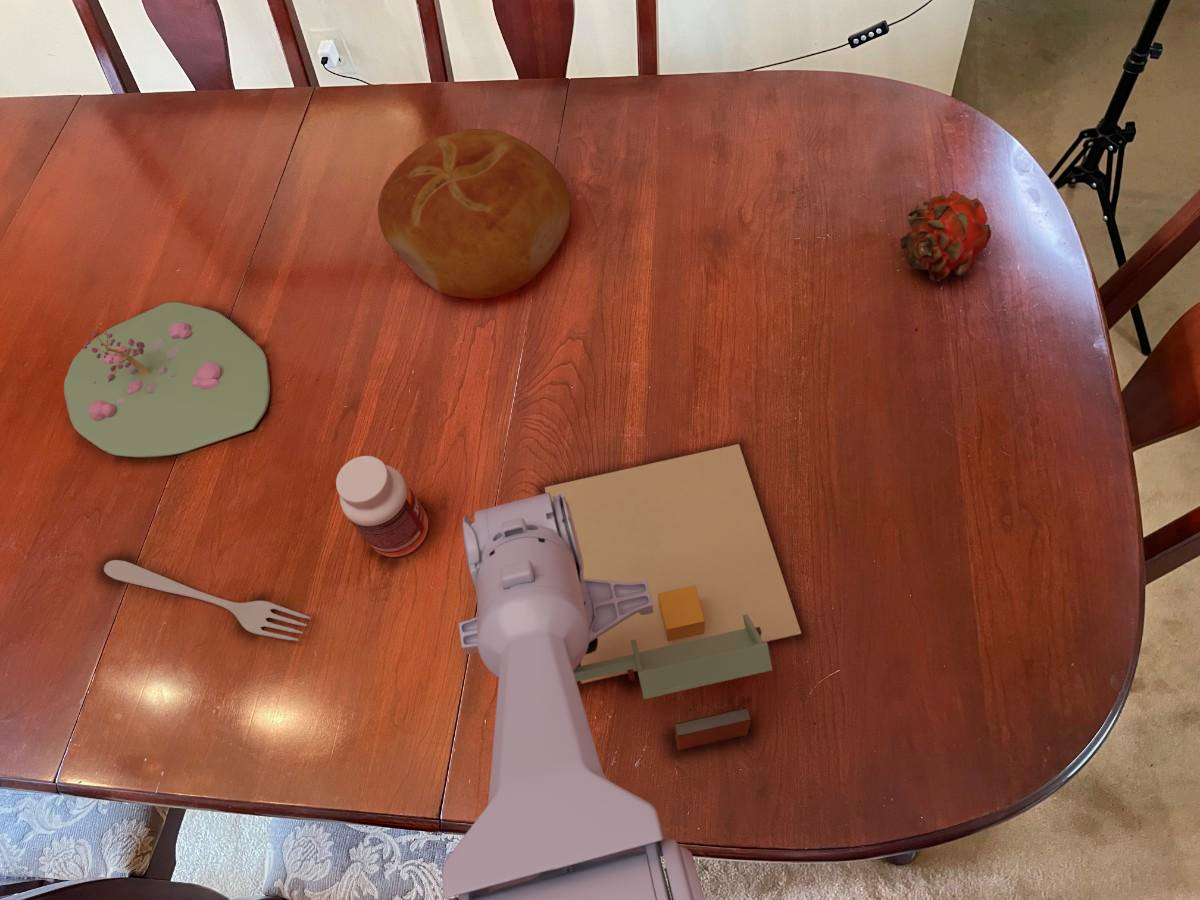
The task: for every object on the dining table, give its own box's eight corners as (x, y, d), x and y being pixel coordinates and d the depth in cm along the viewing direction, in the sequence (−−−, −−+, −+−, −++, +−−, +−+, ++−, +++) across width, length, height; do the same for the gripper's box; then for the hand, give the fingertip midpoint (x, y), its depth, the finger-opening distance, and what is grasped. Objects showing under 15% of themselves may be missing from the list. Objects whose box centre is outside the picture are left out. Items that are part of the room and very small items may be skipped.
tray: (773, 672, 63) (767, 643, 62) (569, 719, 63) (562, 690, 62) (744, 621, 72) (739, 595, 72) (566, 661, 72) (560, 636, 72)
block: (705, 621, 73) (695, 584, 75) (666, 629, 73) (657, 593, 75) (704, 633, 76) (695, 597, 78) (667, 641, 76) (658, 606, 78)
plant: (308, 317, 99) (275, 265, 91) (242, 472, 90) (198, 428, 82) (120, 301, 104) (73, 250, 96) (37, 447, 94) (-23, 403, 86)
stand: (779, 727, 72) (785, 711, 66) (646, 757, 71) (642, 744, 66) (755, 647, 75) (759, 626, 70) (628, 676, 75) (623, 657, 70)
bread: (365, 305, 99) (333, 246, 91) (417, 164, 110) (393, 99, 102) (554, 318, 96) (540, 257, 87) (588, 171, 107) (579, 104, 98)
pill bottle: (442, 528, 84) (410, 477, 74) (393, 571, 82) (354, 524, 73) (404, 490, 86) (368, 435, 77) (356, 531, 85) (313, 480, 75)
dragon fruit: (911, 308, 93) (936, 243, 100) (990, 291, 87) (1012, 224, 94) (880, 246, 89) (909, 183, 96) (961, 224, 83) (986, 158, 90)
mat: (801, 634, 75) (801, 633, 75) (581, 684, 75) (581, 683, 75) (738, 445, 85) (738, 443, 85) (544, 488, 85) (544, 487, 85)
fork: (114, 551, 86) (104, 544, 85) (319, 619, 80) (312, 612, 79) (96, 580, 85) (85, 573, 83) (303, 650, 79) (295, 645, 77)
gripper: (634, 521, 61) (643, 583, 73) (438, 565, 61) (479, 620, 73) (657, 613, 58) (662, 663, 70) (449, 660, 58) (490, 701, 70)
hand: (570, 646), depth 71 cm, fingers closed, pressing on tray
